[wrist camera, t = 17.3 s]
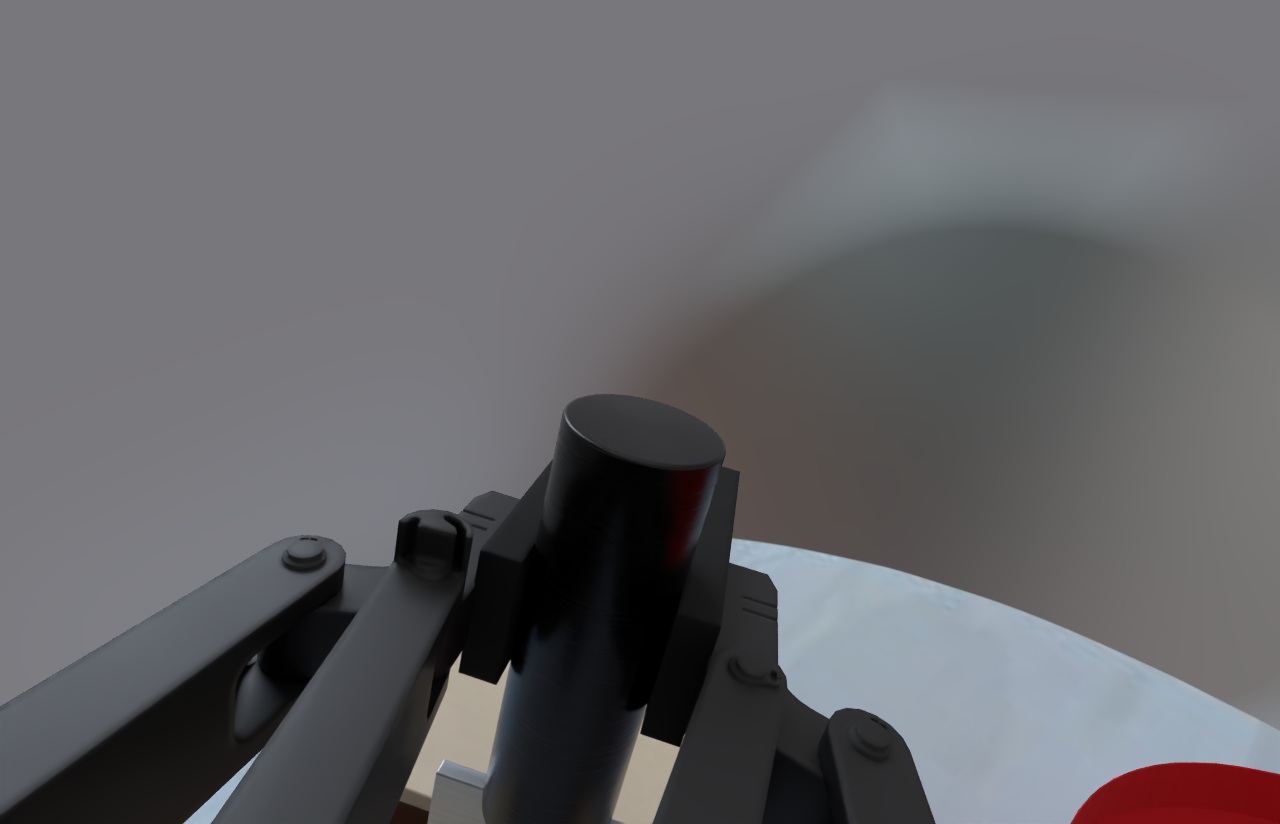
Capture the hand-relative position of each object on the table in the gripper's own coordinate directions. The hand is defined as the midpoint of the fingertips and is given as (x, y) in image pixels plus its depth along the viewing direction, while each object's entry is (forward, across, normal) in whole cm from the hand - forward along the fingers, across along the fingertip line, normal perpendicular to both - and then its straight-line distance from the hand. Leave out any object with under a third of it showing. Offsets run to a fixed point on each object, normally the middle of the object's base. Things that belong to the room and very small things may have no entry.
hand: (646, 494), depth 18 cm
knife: (-5, 0, -15) cm, 16 cm away
